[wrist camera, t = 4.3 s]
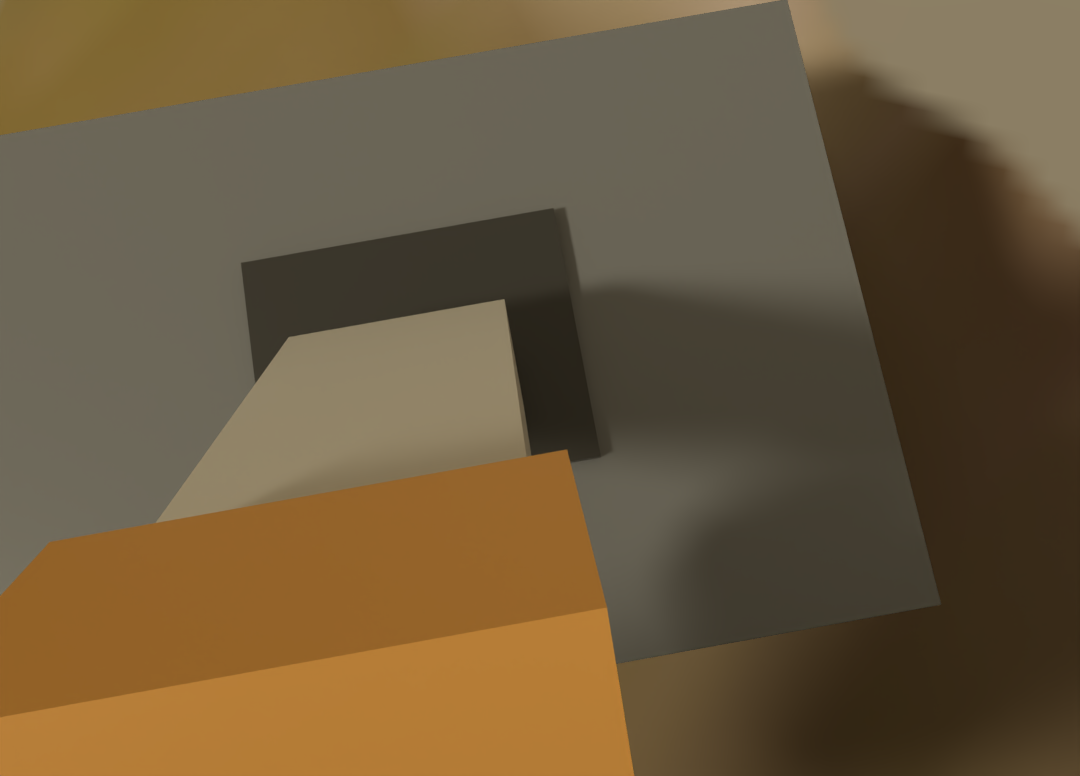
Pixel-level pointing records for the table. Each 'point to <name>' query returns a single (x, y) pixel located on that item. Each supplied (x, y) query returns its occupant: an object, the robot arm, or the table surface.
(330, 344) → the breaker lever
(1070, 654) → the table surface
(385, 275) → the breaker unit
